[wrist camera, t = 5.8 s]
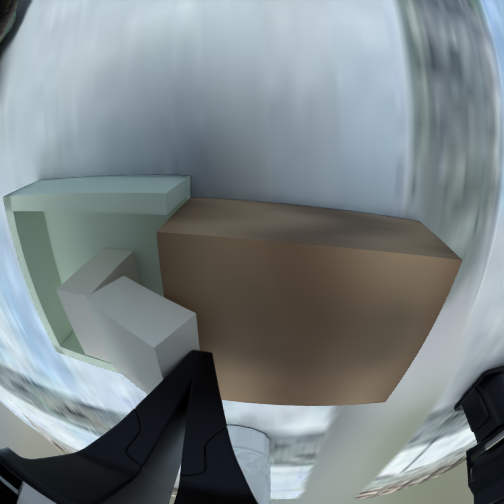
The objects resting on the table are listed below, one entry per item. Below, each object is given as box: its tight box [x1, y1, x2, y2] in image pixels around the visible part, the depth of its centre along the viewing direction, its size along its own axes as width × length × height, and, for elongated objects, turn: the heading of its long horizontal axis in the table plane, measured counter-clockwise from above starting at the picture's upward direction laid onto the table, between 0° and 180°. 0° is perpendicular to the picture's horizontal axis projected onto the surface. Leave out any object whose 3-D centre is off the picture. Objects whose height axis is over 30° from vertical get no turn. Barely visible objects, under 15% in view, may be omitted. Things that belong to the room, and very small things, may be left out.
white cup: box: [227, 425, 271, 504], centre depth 18 cm, size 8×8×10 cm
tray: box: [3, 175, 191, 373], centre depth 13 cm, size 10×11×3 cm
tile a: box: [86, 276, 200, 394], centre depth 10 cm, size 4×4×2 cm
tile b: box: [56, 248, 141, 363], centre depth 12 cm, size 4×4×2 cm
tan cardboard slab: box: [156, 197, 462, 406], centre depth 12 cm, size 11×9×4 cm
